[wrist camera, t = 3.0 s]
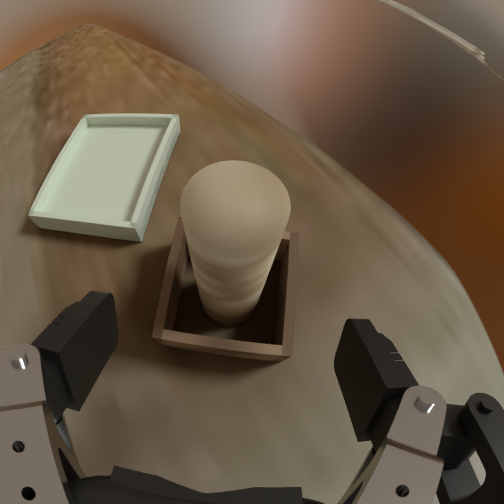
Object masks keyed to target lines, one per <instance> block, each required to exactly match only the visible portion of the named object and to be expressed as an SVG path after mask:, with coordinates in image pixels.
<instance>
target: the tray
mask: <svg viewBox="0 0 504 504" xmlns="http://www.w3.org/2000/svg"><path fill="white" fill-rule="evenodd" d="M179 133H180V124H179V115H171V114H91V115H84V116H83V118H82V119H81V121H80V122H79V124H78V125H77V127H76V128H75V130H74V131H73V133H72V134H71V136H70V137H69V139H68V141H67V142H66V144H65V146H64V147H63V149H62V150H61V152H60V154H59V156H58V157H57V159H56V161H55V162H54V164H53V166H52V168H51V170H50V171H49V173H48V175H47V177H46V179H45V181H44V183H43V185H42V187H41V188H40V190H39V192H38V194H37V197H36V199H35V201H34V203H33V205H32V207H31V209H30V211H29V213H28V216H29V217H30V218H31V220H32V221H33V222H34V223H35V224H36V225H37V226H38V228H44V229H51V230H58V231H65V232H72V233H79V234H86V235H93V236H100V237H107V238H114V239H122V240H129V241H136V242H142V240H143V236H144V233H145V230H146V226H147V223H148V220H149V217H150V214H151V210H152V207H153V204H154V201H155V198H156V195H157V192H158V189H159V186H160V184H161V181H162V178H163V175H164V172H165V169H166V167H167V164H168V161H169V159H170V156H171V153H172V151H173V148H174V146H175V143H176V140H177V138H178V135H179Z"/></svg>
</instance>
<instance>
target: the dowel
mask: <svg viewBox="0 0 504 504" xmlns="http://www.w3.org/2000/svg"><path fill="white" fill-rule="evenodd" d="M290 209H291V207H290V198H289V195H288V192H287V190H286V188H285V186H284V185H283V183H282V182H281V181H280V180H279V179H278V178H277V177H276V176H275V175H274V174H273V173H272V172H270V171H269V170H267V169H265V168H263V167H262V166H259V165H257V164H254V163H250V162H245V161H236V160H234V161H222V162H218V163H214V164H211V165H209V166H207V167H205V168H203V169H201V170H200V171H198V172H197V173H196V174H195V175H193V176H192V177H191V179H190V180H189V181H188V182H187V184H186V185H185V187H184V189H183V192H182V194H181V199H180V211H181V217H182V221H183V226H184V231H185V235H186V240H187V245H188V249H189V254H190V258H191V262H192V267H193V271H194V275H195V279H196V284H197V288H198V292H199V296H200V300H201V304H202V307H203V310H204V312H205V313H206V315H207V316H208V317H209V318H210V319H211V320H212V321H214V322H215V323H217V324H220V325H223V326H235V325H239V324H241V323H243V322H245V321H247V320H248V319H249V318H250V317H251V316H252V314H253V313H254V311H255V308H256V306H257V303H258V300H259V298H260V295H261V292H262V290H263V287H264V285H265V282H266V279H267V277H268V274H269V271H270V269H271V266H272V263H273V260H274V258H275V255H276V252H277V250H278V247H279V244H280V241H281V239H282V236H283V233H284V231H285V228H286V225H287V222H288V219H289V216H290Z"/></svg>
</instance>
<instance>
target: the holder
mask: <svg viewBox="0 0 504 504" xmlns="http://www.w3.org/2000/svg"><path fill="white" fill-rule="evenodd" d="M298 243H299V233H295V232H288V231H284V233H283V236H282V239H281V241H280V244H279V247H278V250H277V252H276V255H275V258H274V260H276V261H281V265H280V278H279V291H278V304H277V315H276V327H275V338H274V345H272V344H262V343H254V342H245V341H237V340H229V339H222V338H215V337H208V336H202V335H195V334H189V333H183V332H177V331H174V329H175V323H176V318H177V312H178V307H179V301H180V296H181V291H182V286H183V281H184V276H185V271H186V266H187V261H188V257H189V249H188V245H187V240H186V235H185V231H184V226H183V221H182V217H179V218H178V222H177V225H176V229H175V233H174V237H173V241H172V245H171V249H170V253H169V257H168V262H167V266H166V270H165V275H164V279H163V284H162V288H161V293H160V297H159V302H158V307H157V312H156V317H155V322H154V328H153V333H152V338H154V339H155V340H156V341H158V342H159V343H160V344H162V345H163V346H168V347H173V348H179V349H185V350H191V351H197V352H203V353H210V354H217V355H224V356H232V357H240V358H248V359H257V360H267V361H277V362H282V361H284V360H286V359H287V358H289V357H291V356H292V346H293V332H294V318H295V303H296V285H297V266H298Z"/></svg>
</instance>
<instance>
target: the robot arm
mask: <svg viewBox="0 0 504 504" xmlns="http://www.w3.org/2000/svg"><path fill="white" fill-rule="evenodd" d="M117 341H118V328H117V320H116V311H115V302H114V297H113V295H112V294H111V293H105V292H99V291H93V290H92V291H90V292H89V293H88V294H87V295H86V296H85V297H84V298H83V299H82V300H81V301H80V302H76V303H74V304H72V305H70V306H68V307H66V308H65V309H64V310H63V311H62V312H61V313H60V314H59V315H58V317H56V318H55V319H54V320H53V321H52V324H51V323H50V324H49V325H48V327H47V328H46V329H45V330H44V331H43V332H42V333H41V334H40V335H39V336H38V337H37V338H36V339H35V340H34V341H33V343H32V344H31V345H29V344H16V345H13V346H10V347H8V348H7V349H5V350H4V351H3V352H2V353H1V355H0V504H324V503H321V502H319V501H315V500H311V499H307V498H302V490H301V487H280V488H268V487H253V488H247V489H241V490H234V491H227V492H218V493H201V492H198V491H195V490H192V489H189V488H187V487H184V486H181V485H179V484H176V483H174V482H171V481H169V480H166V479H164V478H162V477H159V476H156V475H151V474H147V473H142V472H138V471H134V470H130V469H126V468H122V467H119V466H115V465H114V468H113V471H112V474H111V476H92V477H85V475H84V473H83V471H82V469H81V467H80V464H79V462H78V459H77V456H76V453H75V450H74V447H73V444H72V441H71V438H70V435H69V431H68V428H67V424H66V421H65V418H64V415H63V412H64V411H65V409H66V407H67V408H69V409H72V410H75V411H78V412H79V411H80V409H81V407H82V405H83V403H84V402H85V400H86V398H87V396H88V394H89V393H90V391H91V389H92V387H93V385H94V384H95V382H96V380H97V378H98V377H99V375H100V373H101V372H102V370H103V368H104V366H105V365H106V363H107V361H108V360H109V358H110V356H111V354H112V353H113V351H114V349H115V348H116V345H117ZM334 369H335V373H336V376H337V379H338V382H339V385H340V388H341V391H342V394H343V397H344V400H345V403H346V406H347V409H348V412H349V415H350V419H351V422H352V425H353V428H354V431H355V434H356V437H357V441H358V442H362V441H370V440H371V442H372V445H373V446H372V448H371V449H370V451H369V452H368V454H367V456H366V458H365V460H364V462H363V463H362V465H361V467H360V469H359V471H358V472H357V474H356V476H355V478H354V479H353V481H352V483H351V484H350V486H349V488H348V489H347V491H346V492H345V494H344V495H343V497H342V498H341V499H340V501H339V502H338V503H337V504H432V503H433V500H434V497H435V494H437V497H438V500H439V503H440V504H504V410H503V408H502V407H501V405H500V404H499V402H498V401H497V400H496V399H495V398H493V397H492V396H490V395H488V394H485V393H475V394H473V395H471V396H470V398H469V399H468V401H467V402H466V404H465V405H464V406H463V405H452V404H446V402H445V400H444V398H443V397H442V395H441V394H439V393H438V392H437V391H435V390H434V389H432V388H429V387H426V386H419V384H418V383H417V381H416V380H415V378H414V376H413V375H412V373H411V371H410V370H409V368H408V367H407V365H406V363H405V362H404V361H402V357H401V355H400V354H399V353H398V351H397V349H396V348H395V346H394V345H393V343H392V342H391V341H390V340H389V339H388V338H386V337H385V336H384V335H383V334H381V333H378V332H377V331H376V329H375V327H374V326H373V324H372V323H371V321H370V320H369V319H347V320H346V322H345V325H344V328H343V331H342V335H341V338H340V341H339V344H338V348H337V351H336V354H335V359H334ZM475 451H476V452H477V454H478V456H479V458H480V460H481V462H482V464H483V466H484V468H485V471H486V478H485V481H484V483H483V484H482V486H480V484H479V481H478V479H477V477H476V474H475V472H474V470H473V468H472V466H471V463H470V461H469V458H470V457H471V456H472V454H473V453H474V452H475Z"/></svg>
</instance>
